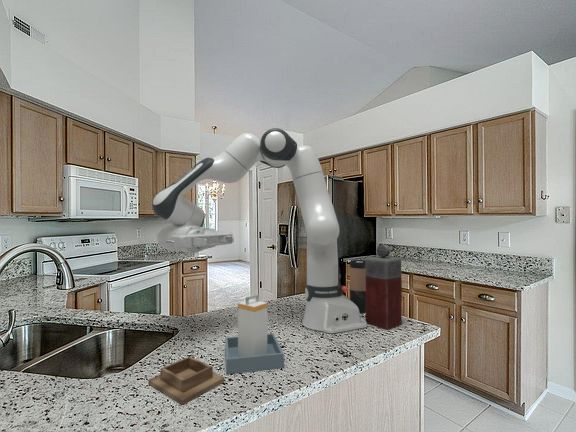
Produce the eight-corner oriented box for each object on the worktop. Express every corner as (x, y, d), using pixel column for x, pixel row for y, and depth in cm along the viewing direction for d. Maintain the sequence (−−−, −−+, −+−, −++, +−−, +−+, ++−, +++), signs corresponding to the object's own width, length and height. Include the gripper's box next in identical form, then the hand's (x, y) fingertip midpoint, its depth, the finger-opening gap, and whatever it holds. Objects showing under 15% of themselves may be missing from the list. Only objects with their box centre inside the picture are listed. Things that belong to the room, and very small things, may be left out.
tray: (273, 345, 91) (273, 333, 91) (283, 367, 77) (283, 353, 77) (225, 349, 88) (225, 337, 88) (226, 374, 74) (226, 359, 74)
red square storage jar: (405, 323, 110) (405, 244, 110) (387, 330, 103) (387, 246, 103) (383, 316, 117) (383, 243, 117) (365, 323, 110) (365, 244, 110)
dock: (148, 384, 70) (148, 368, 70) (190, 365, 78) (190, 351, 79) (182, 405, 62) (182, 387, 62) (224, 381, 71) (224, 366, 71)
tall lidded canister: (237, 355, 82) (237, 295, 82) (251, 349, 86) (251, 292, 87) (254, 361, 79) (254, 299, 79) (267, 354, 83) (267, 295, 83)
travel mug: (372, 310, 125) (372, 261, 126) (363, 314, 120) (363, 263, 120) (355, 306, 131) (355, 259, 131) (346, 310, 125) (346, 261, 125)
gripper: (162, 230, 93) (190, 231, 84) (216, 228, 109) (244, 228, 101) (162, 251, 93) (190, 254, 84) (216, 246, 109) (244, 248, 101)
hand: (220, 240), depth 93 cm, fingers open, 8 cm apart
